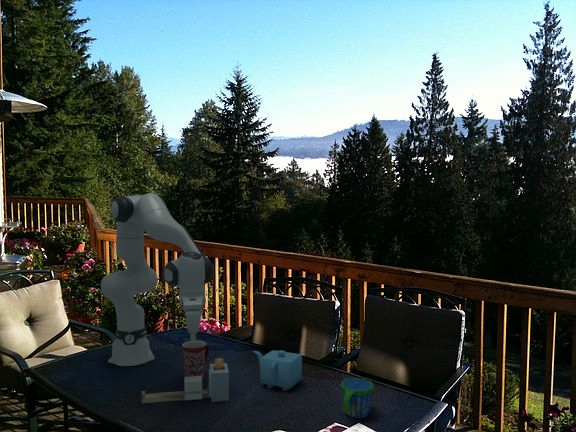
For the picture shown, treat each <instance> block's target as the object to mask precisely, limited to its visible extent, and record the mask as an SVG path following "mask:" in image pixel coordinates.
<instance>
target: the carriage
mask: <svg viewBox="0 0 576 432" xmlns="http://www.w3.org/2000/svg"><path fill="white" fill-rule="evenodd" d="M183 379H184V391H185V400H184V401H193V400H203V399H202V390H203V379H202V376H191V377H185V376H184V378H183Z"/></svg>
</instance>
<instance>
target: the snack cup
mask: <svg viewBox="0 0 576 432" xmlns="http://www.w3.org/2000/svg"><path fill="white" fill-rule="evenodd" d="M374 385H375V384H373V382H372V381H370V380H367V379H364V378H359V377H351V378H346V379H344V380H343V381H341V383H340V389H341V390H342V396H343V397H342V398H343V399H342V400H343V404H342V410H343V412H344V413H345V414H346V415H347V416H348V417H350V418H351V419H365V418H366V417H368V415H369V414H370V413H369V412H370V408H371V402H372V396H373V395H372V394H373V391H374V389H375V386H374Z"/></svg>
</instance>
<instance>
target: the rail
mask: <svg viewBox="0 0 576 432" xmlns="http://www.w3.org/2000/svg"><path fill="white" fill-rule="evenodd" d="M204 399H211V397H210V388H209V386H207V389H202V399H201V400H204ZM174 401H175V402H176V401H178V402H179V401H186V400H185V390H181V391H169V392H168V391H167V392H155V393H153V392H152V393H146V391H145V390H144V391H143V390H142V391H141V404H151V403H163V402H174Z"/></svg>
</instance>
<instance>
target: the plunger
mask: <svg viewBox="0 0 576 432" xmlns="http://www.w3.org/2000/svg"><path fill="white" fill-rule="evenodd" d="M214 363H215V370H223V363H224V358H220V357H219V358H215V359H214Z"/></svg>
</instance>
